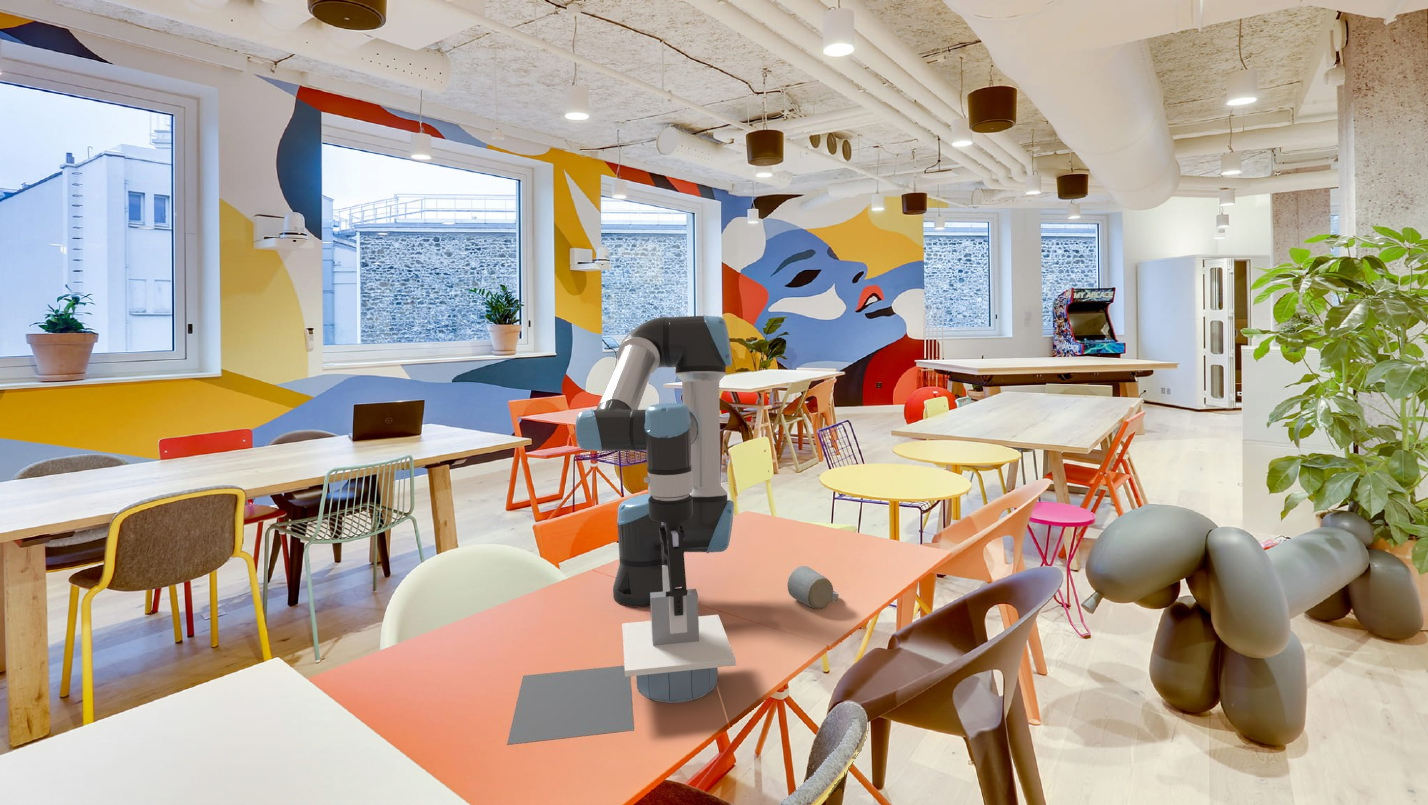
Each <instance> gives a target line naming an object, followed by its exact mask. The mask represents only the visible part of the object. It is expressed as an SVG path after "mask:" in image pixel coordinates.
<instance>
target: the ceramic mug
mask: <svg viewBox="0 0 1428 805" xmlns="http://www.w3.org/2000/svg"><path fill="white" fill-rule="evenodd" d="M786 587H787V590H788V594H789V596H790V597H792V599H795V600H797V601H799V602H800V603H802V604H804V605H806V606H807V607H809V608H812V609H815V610H819V609H823V608H825V607H827V606H828V604H829V603H830V602H831V601H837V600H838V599H839V593H838V592H836V591H834V587H833V583H832V582H831V581H830V580H829V579H828V578H827V577H826V576H825V575H822V574H821V573H819V572H818V571H817V570H814V569H813V568H811V567H809V566H808V565H801V566H797V567H796V568H795V569H793V571H791V573H790V575H789V577H788V580H787V586H786Z"/></svg>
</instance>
